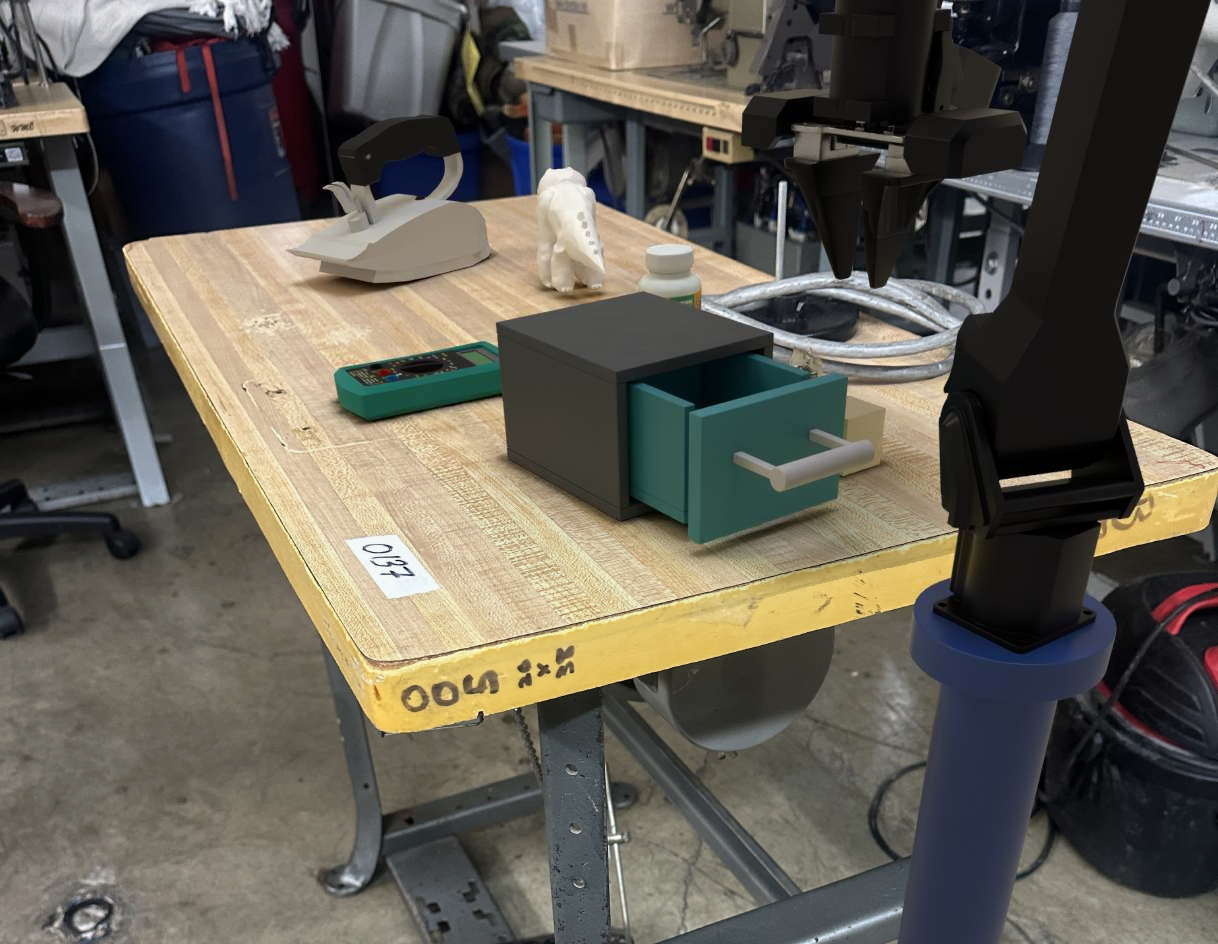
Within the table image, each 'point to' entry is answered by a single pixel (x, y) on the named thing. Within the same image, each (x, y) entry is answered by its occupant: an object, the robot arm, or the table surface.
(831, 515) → the table surface
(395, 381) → the digital multimeter
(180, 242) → the table surface
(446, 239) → the iron
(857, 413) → the block
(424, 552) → the table surface
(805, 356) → the small metal piece
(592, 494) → the drawer cabinet
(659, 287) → the supplement bottle
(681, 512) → the teal drawer
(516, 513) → the table surface
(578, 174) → the toy dinosaur
